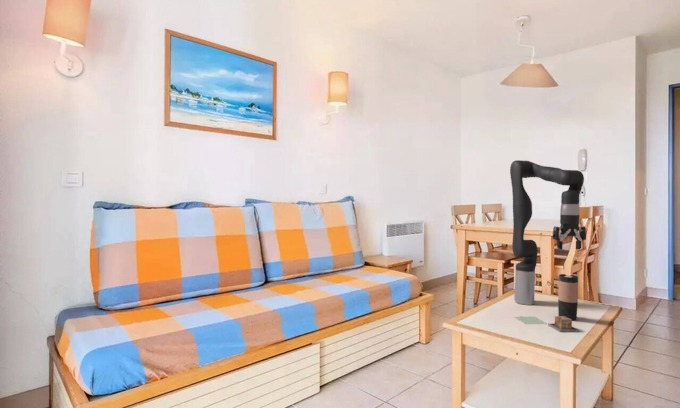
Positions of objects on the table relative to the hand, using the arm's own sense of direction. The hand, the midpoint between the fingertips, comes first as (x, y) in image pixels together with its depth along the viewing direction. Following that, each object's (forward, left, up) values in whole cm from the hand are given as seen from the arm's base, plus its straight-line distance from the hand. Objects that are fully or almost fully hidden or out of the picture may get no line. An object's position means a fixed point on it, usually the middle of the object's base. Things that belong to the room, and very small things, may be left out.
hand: (569, 249), depth 174 cm
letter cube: (+13, -11, -32) cm, 36 cm away
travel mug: (0, 0, -32) cm, 32 cm away
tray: (+13, -11, -32) cm, 36 cm away
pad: (+2, -19, -32) cm, 37 cm away
